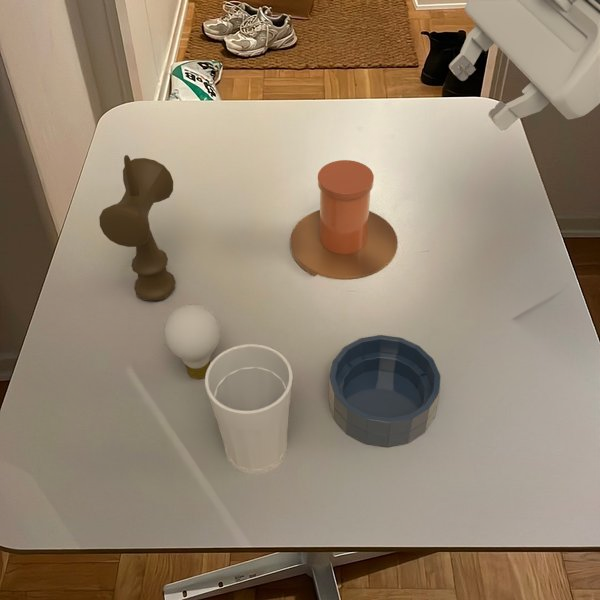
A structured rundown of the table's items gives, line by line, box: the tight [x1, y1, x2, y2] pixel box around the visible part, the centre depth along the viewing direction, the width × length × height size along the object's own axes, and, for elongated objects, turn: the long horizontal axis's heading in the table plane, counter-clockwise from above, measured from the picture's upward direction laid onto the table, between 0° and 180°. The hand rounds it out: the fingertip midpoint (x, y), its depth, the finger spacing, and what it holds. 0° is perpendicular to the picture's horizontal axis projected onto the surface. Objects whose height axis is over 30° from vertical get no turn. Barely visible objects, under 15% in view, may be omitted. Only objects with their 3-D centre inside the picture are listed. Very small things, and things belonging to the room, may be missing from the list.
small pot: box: [317, 159, 375, 254], centre depth 93 cm, size 7×7×10 cm
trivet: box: [290, 209, 399, 281], centre depth 97 cm, size 14×14×1 cm
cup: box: [204, 343, 294, 475], centre depth 71 cm, size 8×8×12 cm
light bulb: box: [163, 303, 221, 380], centre depth 79 cm, size 6×6×10 cm
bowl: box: [328, 334, 442, 448], centre depth 77 cm, size 11×11×5 cm
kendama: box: [98, 154, 176, 302], centre depth 85 cm, size 6×10×20 cm, turn 171°
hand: (474, 97), depth 71 cm, fingers open, 8 cm apart
